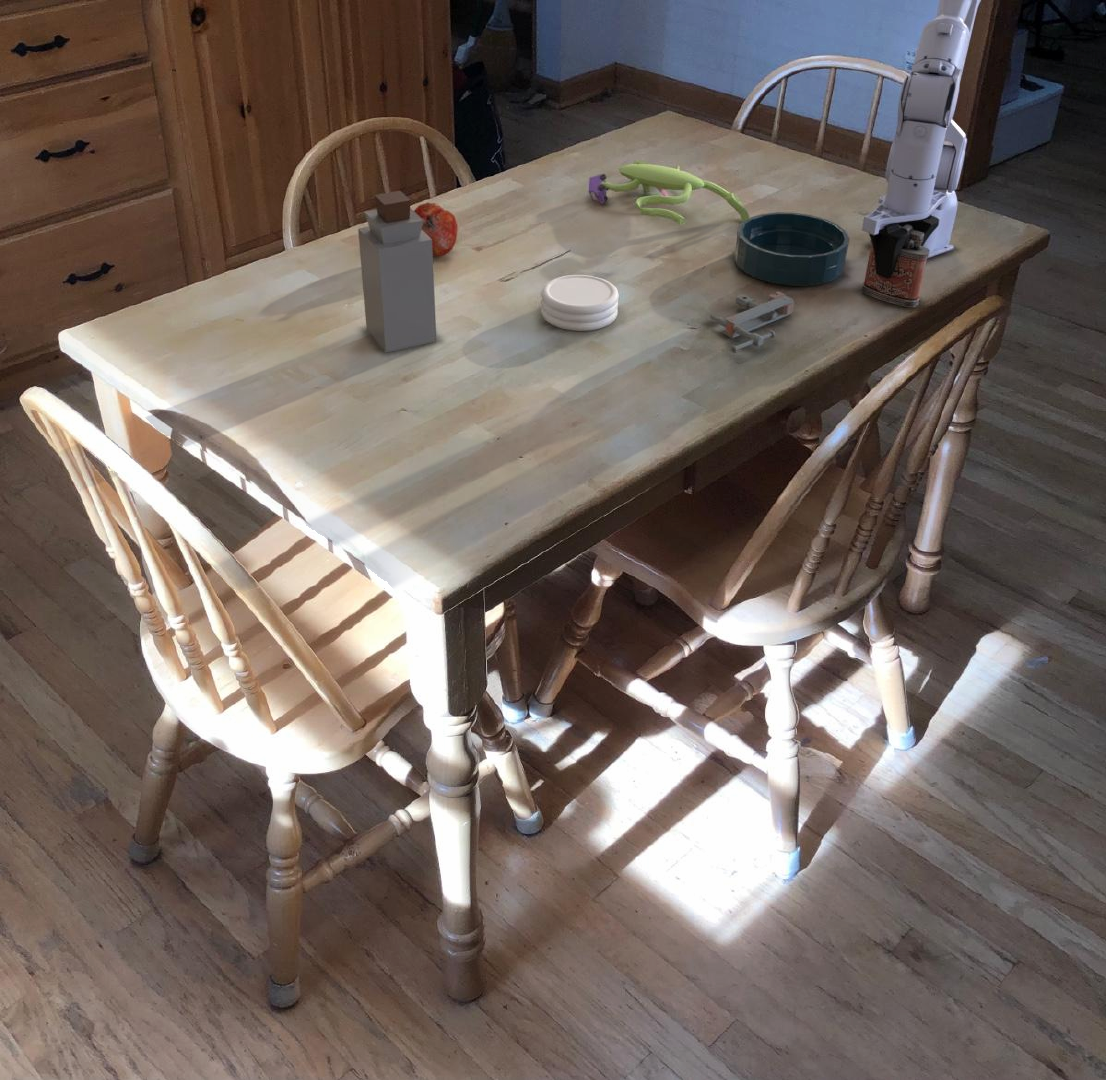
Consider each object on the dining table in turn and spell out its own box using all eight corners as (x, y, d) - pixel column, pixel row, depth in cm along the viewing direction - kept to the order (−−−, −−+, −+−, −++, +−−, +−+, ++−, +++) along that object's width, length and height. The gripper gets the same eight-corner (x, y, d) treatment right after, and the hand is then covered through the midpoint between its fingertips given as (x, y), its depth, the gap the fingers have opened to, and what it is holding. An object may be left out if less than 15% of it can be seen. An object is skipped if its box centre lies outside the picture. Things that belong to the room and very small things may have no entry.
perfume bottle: (386, 352, 150) (375, 212, 139) (366, 329, 155) (355, 192, 144) (436, 341, 153) (430, 203, 142) (415, 318, 158) (408, 183, 147)
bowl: (789, 233, 181) (793, 204, 178) (866, 270, 171) (871, 240, 169) (712, 257, 174) (715, 227, 171) (788, 297, 164) (792, 266, 161)
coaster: (529, 324, 157) (529, 299, 155) (556, 292, 164) (556, 268, 162) (603, 338, 154) (604, 313, 152) (627, 305, 162) (628, 280, 159)
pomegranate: (408, 258, 177) (390, 241, 167) (420, 209, 177) (403, 189, 167) (456, 270, 176) (442, 253, 166) (469, 220, 176) (455, 201, 166)
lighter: (922, 301, 164) (938, 230, 158) (911, 309, 162) (927, 238, 156) (868, 284, 168) (882, 214, 162) (856, 292, 166) (870, 221, 160)
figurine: (656, 252, 175) (659, 214, 172) (566, 188, 194) (567, 153, 190) (761, 229, 182) (765, 192, 179) (664, 169, 201) (666, 135, 197)
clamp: (762, 282, 163) (819, 309, 157) (760, 297, 164) (816, 325, 158) (680, 314, 155) (737, 344, 149) (679, 329, 156) (735, 360, 150)
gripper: (924, 150, 161) (904, 248, 169) (851, 174, 153) (834, 275, 162) (968, 166, 156) (946, 265, 164) (896, 192, 149) (876, 294, 157)
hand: (893, 271), depth 163 cm, fingers closed on lighter, 4 cm apart
